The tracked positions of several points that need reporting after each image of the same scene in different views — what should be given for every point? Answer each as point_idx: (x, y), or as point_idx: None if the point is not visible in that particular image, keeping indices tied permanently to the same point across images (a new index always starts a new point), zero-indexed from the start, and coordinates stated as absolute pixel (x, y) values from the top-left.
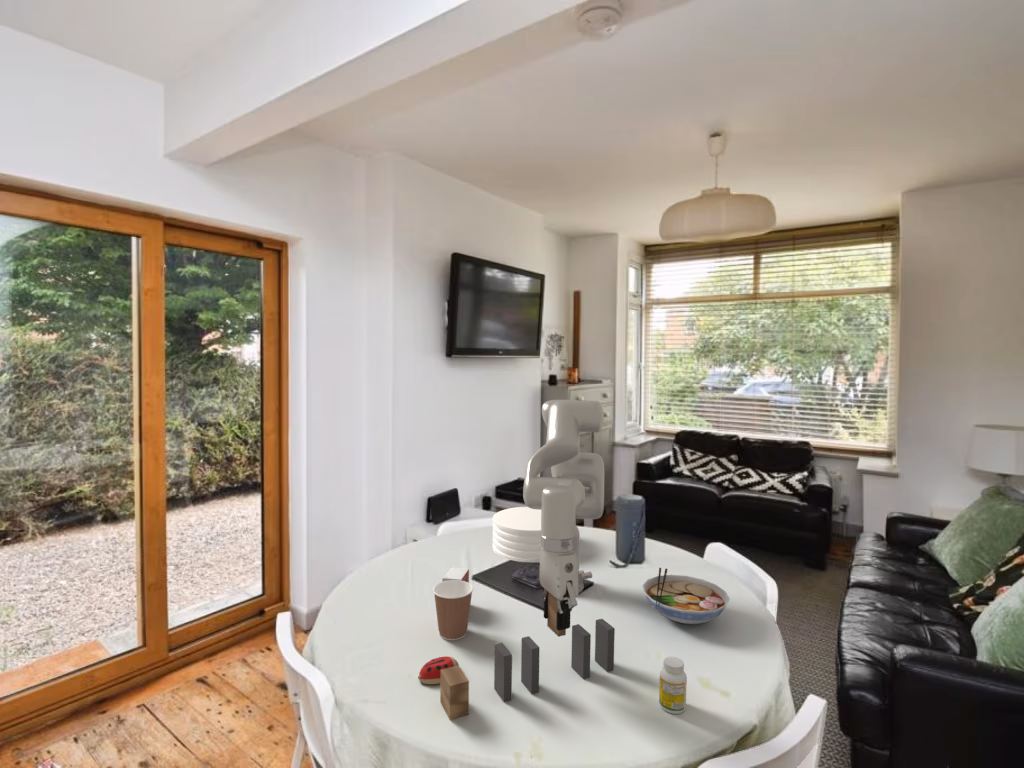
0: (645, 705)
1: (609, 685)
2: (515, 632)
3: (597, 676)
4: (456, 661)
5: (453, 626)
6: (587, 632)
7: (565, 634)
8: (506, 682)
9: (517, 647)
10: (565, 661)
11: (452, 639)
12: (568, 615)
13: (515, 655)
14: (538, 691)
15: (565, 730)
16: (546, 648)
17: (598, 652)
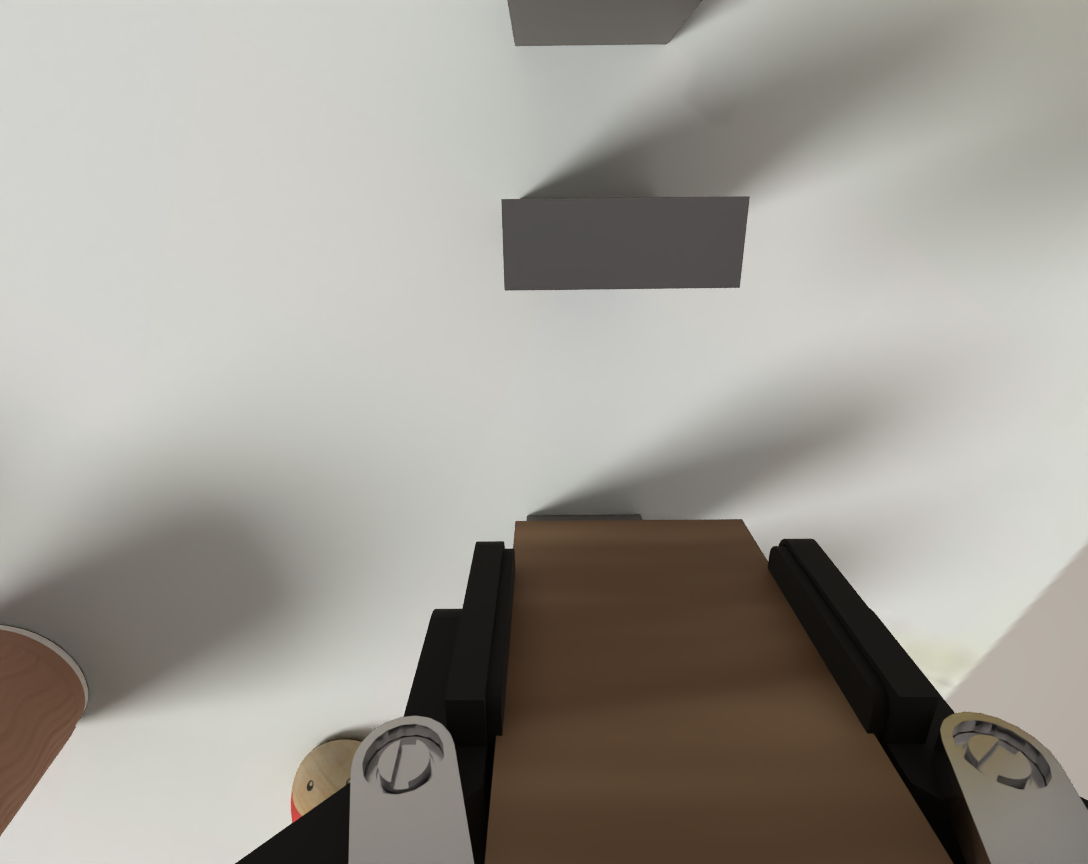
0: (1063, 21)
1: (785, 123)
2: (43, 388)
3: (673, 142)
4: (341, 787)
5: (39, 766)
6: (700, 208)
7: (744, 524)
8: None
9: (221, 446)
10: (448, 251)
11: (86, 702)
12: (942, 706)
13: (300, 487)
14: (640, 518)
15: (919, 526)
16: (273, 292)
17: (561, 22)
